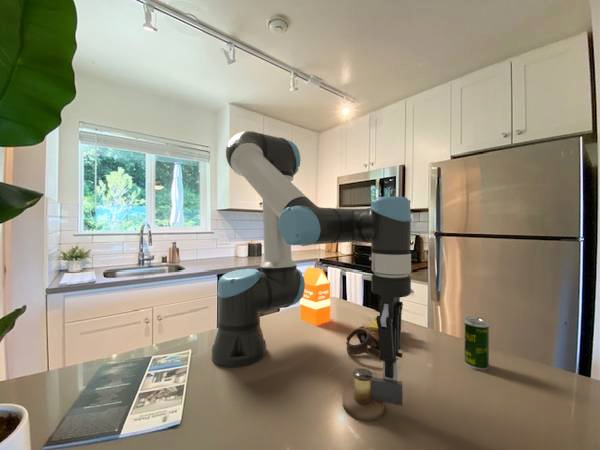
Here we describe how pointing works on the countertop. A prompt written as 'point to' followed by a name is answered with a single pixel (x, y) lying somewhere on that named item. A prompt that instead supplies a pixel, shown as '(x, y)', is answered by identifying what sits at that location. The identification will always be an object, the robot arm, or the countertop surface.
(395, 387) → the knob
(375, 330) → the decorative flower
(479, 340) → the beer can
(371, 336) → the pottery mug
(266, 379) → the countertop surface
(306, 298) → the orange juice
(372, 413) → the dial base
